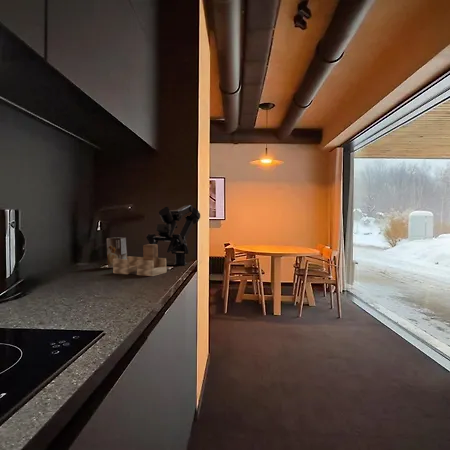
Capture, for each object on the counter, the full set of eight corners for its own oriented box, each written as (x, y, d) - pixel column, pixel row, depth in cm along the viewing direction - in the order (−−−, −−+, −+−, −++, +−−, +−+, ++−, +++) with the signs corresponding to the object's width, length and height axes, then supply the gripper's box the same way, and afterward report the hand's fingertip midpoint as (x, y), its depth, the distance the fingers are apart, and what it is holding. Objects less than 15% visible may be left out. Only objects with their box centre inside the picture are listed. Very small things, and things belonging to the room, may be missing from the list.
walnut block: (149, 266, 194) (148, 244, 193) (158, 266, 192) (157, 244, 192) (143, 268, 189) (143, 245, 189) (153, 268, 187) (152, 245, 187)
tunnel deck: (113, 273, 194) (112, 258, 194) (128, 269, 204) (128, 256, 204) (152, 276, 183) (152, 261, 183) (166, 272, 194) (166, 258, 193)
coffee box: (128, 266, 217) (127, 237, 216) (121, 268, 211) (121, 238, 210) (113, 266, 220) (112, 237, 219) (106, 267, 213) (106, 238, 213)
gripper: (147, 218, 206) (136, 241, 196) (180, 218, 200) (170, 241, 190) (155, 232, 214) (145, 255, 204) (186, 232, 208) (178, 256, 198)
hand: (159, 252), depth 199 cm, fingers open, 9 cm apart
